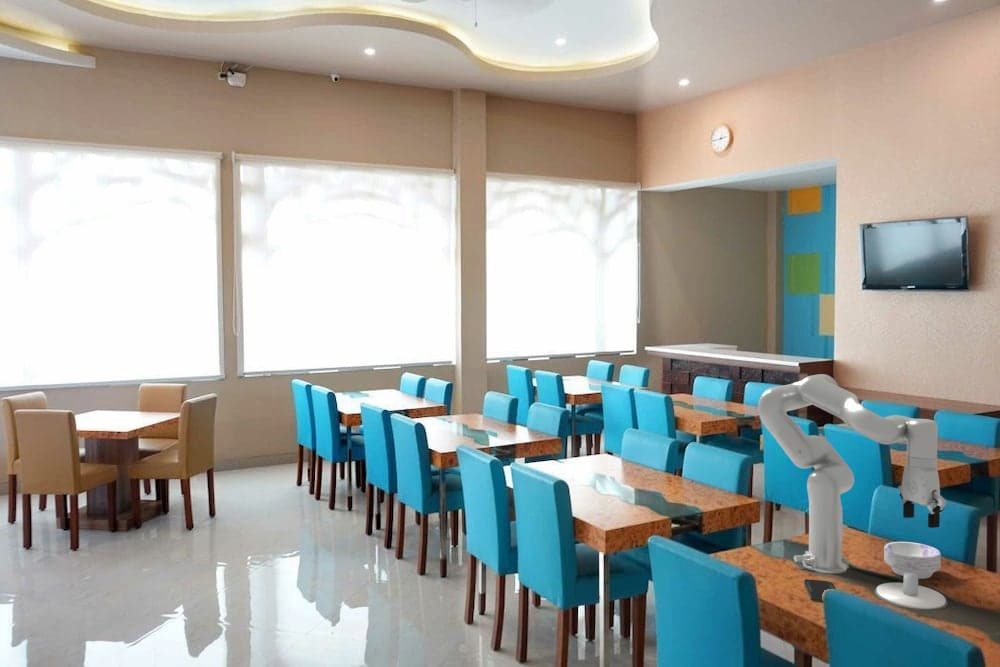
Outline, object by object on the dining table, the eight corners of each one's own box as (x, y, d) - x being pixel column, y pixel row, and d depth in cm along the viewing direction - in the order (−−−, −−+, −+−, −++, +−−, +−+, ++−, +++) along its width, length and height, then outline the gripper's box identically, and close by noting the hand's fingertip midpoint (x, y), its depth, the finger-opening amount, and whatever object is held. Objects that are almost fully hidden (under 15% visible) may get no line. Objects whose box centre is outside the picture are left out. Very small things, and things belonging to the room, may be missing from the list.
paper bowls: (873, 566, 237) (873, 541, 237) (918, 564, 239) (919, 539, 239) (904, 584, 222) (904, 558, 222) (952, 582, 224) (953, 556, 224)
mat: (902, 613, 202) (902, 612, 202) (861, 588, 220) (861, 586, 220) (963, 609, 204) (963, 607, 204) (917, 584, 222) (917, 583, 222)
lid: (902, 611, 202) (903, 588, 202) (863, 587, 219) (864, 565, 219) (960, 607, 205) (960, 584, 205) (917, 583, 222) (917, 562, 221)
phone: (832, 581, 223) (840, 601, 209) (832, 585, 223) (840, 605, 209) (803, 578, 225) (809, 598, 211) (803, 582, 225) (809, 602, 211)
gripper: (889, 457, 223) (888, 514, 223) (933, 470, 206) (932, 532, 207) (911, 456, 224) (910, 513, 225) (957, 468, 207) (955, 530, 208)
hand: (920, 522), depth 216 cm, fingers open, 9 cm apart
